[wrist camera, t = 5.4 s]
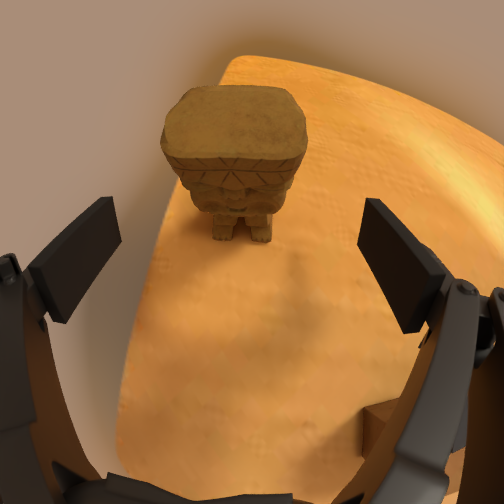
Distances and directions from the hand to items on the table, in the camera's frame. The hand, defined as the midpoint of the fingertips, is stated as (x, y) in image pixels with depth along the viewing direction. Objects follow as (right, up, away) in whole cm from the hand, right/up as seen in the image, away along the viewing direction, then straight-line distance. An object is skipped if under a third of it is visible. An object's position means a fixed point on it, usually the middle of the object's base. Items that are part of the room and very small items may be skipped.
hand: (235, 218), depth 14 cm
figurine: (0, +2, +13) cm, 13 cm away
